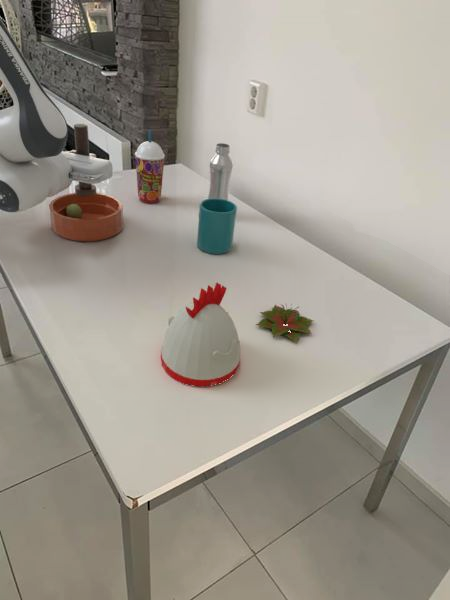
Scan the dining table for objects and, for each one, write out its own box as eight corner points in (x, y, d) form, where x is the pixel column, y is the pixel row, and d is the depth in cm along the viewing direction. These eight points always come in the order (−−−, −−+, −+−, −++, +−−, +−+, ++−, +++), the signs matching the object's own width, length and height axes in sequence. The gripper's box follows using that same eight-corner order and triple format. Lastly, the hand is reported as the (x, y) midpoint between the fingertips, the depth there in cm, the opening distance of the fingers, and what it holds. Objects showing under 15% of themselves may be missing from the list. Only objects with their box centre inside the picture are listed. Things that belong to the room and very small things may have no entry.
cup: (212, 231, 122) (216, 191, 116) (239, 250, 115) (244, 209, 108) (184, 237, 118) (186, 196, 111) (209, 258, 110) (213, 215, 104)
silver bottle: (225, 210, 135) (232, 142, 124) (229, 219, 130) (237, 149, 119) (204, 209, 134) (209, 141, 123) (207, 219, 129) (213, 148, 117)
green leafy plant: (271, 301, 97) (274, 283, 95) (323, 322, 93) (328, 304, 90) (244, 328, 88) (247, 309, 86) (300, 353, 84) (305, 334, 81)
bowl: (43, 240, 109) (40, 217, 106) (61, 210, 124) (59, 189, 120) (117, 245, 111) (116, 222, 107) (126, 215, 125) (126, 194, 122)
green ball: (65, 221, 117) (63, 207, 115) (68, 215, 120) (67, 201, 118) (80, 222, 117) (79, 208, 115) (84, 216, 121) (82, 202, 119)
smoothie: (139, 206, 131) (139, 136, 120) (132, 195, 137) (131, 127, 126) (167, 204, 134) (169, 135, 123) (158, 194, 140) (160, 127, 129)
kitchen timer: (255, 362, 80) (268, 293, 72) (198, 400, 72) (205, 325, 63) (202, 324, 88) (208, 257, 79) (144, 354, 79) (144, 282, 71)
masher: (73, 195, 109) (66, 127, 100) (77, 188, 113) (71, 121, 104) (94, 197, 110) (89, 129, 101) (98, 189, 114) (94, 123, 105)
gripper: (93, 166, 92) (124, 149, 104) (6, 148, 96) (45, 134, 107) (95, 195, 96) (125, 176, 107) (11, 177, 99) (49, 161, 111)
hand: (84, 155), depth 107 cm, fingers closed on masher, 3 cm apart
